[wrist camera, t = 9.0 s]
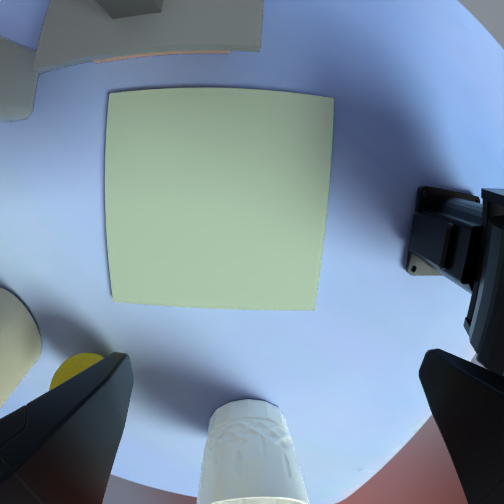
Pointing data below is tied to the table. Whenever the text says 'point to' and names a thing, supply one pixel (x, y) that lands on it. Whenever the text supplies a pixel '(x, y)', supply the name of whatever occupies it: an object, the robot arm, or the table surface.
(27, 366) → the travel mug
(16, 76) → the power adapter
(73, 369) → the lemon
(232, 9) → the lid
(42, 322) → the table surface
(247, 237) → the mat
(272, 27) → the table surface
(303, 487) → the white cup
